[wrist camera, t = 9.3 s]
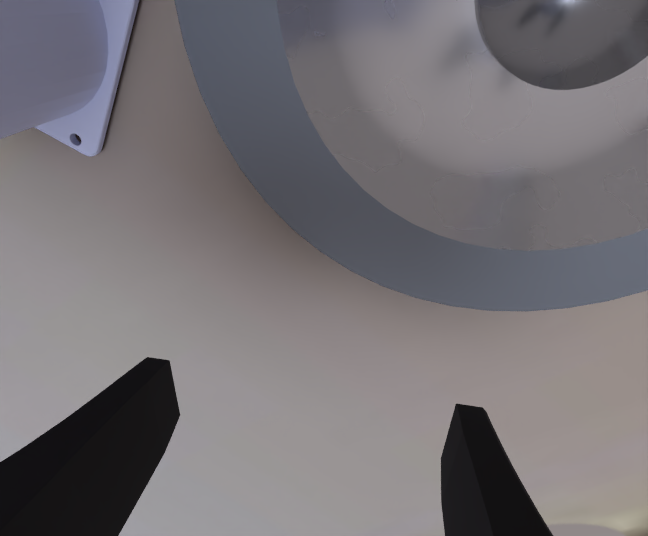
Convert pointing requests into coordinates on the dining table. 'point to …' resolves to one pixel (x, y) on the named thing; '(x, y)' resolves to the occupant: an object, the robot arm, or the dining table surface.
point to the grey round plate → (356, 204)
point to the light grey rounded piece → (483, 112)
